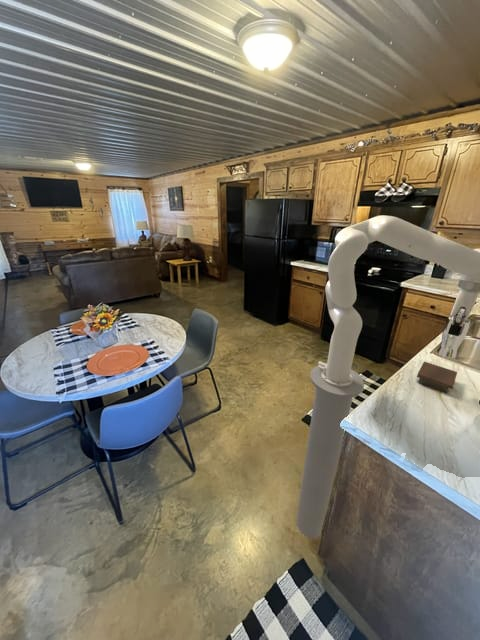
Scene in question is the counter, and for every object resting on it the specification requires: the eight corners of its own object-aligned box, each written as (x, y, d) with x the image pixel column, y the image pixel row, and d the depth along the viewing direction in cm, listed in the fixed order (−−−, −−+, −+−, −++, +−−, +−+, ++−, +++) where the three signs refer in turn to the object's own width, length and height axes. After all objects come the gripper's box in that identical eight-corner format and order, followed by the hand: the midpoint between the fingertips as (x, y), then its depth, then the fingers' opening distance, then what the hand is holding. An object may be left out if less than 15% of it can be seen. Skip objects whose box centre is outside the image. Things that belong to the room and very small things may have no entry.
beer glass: (454, 361, 98) (469, 325, 92) (433, 354, 102) (445, 319, 96) (459, 354, 102) (473, 319, 96) (438, 348, 107) (450, 314, 101)
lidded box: (414, 382, 111) (417, 373, 109) (421, 369, 119) (424, 361, 118) (449, 395, 103) (453, 386, 101) (453, 380, 112) (457, 372, 110)
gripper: (461, 278, 99) (446, 321, 106) (455, 288, 87) (438, 336, 95) (487, 282, 94) (469, 327, 102) (484, 293, 83) (464, 342, 90)
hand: (454, 331), depth 98 cm, fingers closed on beer glass, 7 cm apart
